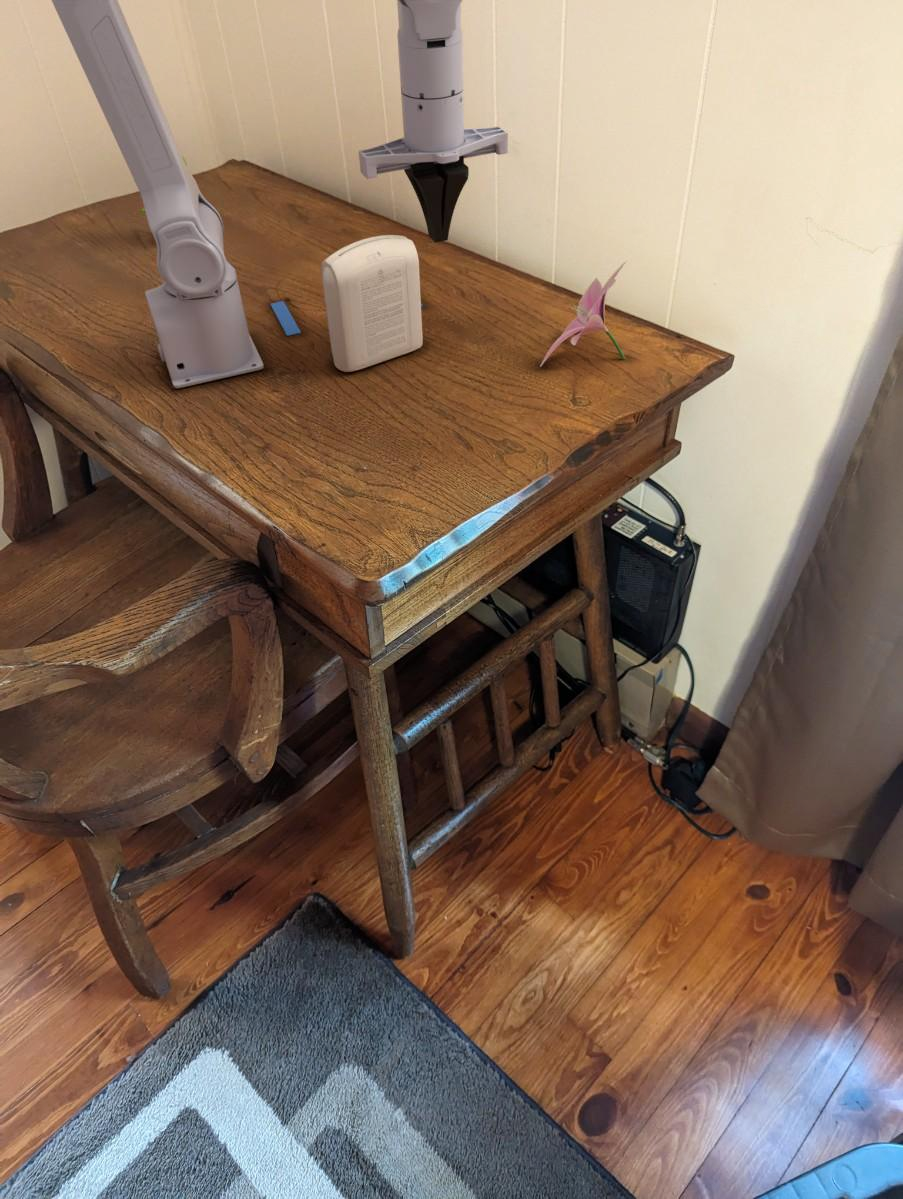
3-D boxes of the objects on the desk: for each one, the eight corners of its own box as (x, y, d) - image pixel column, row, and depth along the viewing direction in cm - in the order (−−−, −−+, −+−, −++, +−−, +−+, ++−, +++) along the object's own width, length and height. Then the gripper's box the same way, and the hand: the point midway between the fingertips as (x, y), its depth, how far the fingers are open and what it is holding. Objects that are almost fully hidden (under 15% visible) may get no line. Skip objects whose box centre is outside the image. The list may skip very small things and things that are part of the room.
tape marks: (287, 336, 97) (287, 335, 97) (270, 304, 102) (270, 303, 102) (423, 306, 100) (423, 305, 100) (400, 277, 106) (400, 276, 106)
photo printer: (409, 332, 96) (401, 219, 88) (429, 348, 94) (423, 234, 85) (326, 361, 93) (309, 247, 84) (346, 379, 90) (330, 263, 81)
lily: (603, 325, 98) (565, 252, 93) (687, 321, 89) (651, 240, 84) (541, 397, 95) (498, 326, 90) (622, 401, 86) (580, 323, 80)
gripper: (370, 115, 75) (384, 267, 85) (523, 89, 78) (519, 239, 88) (346, 92, 79) (361, 239, 89) (491, 69, 83) (490, 213, 93)
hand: (438, 237), depth 89 cm, fingers closed
